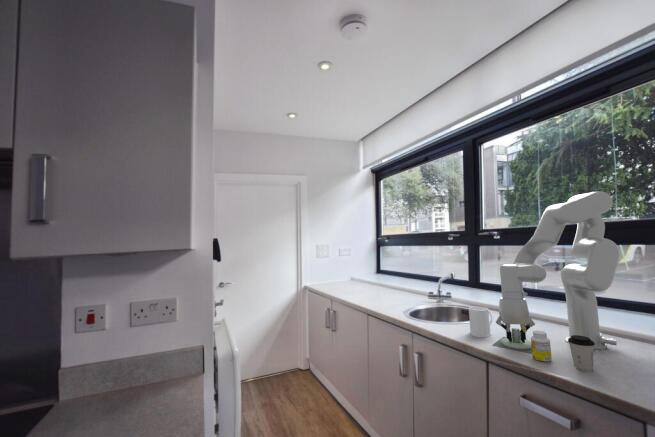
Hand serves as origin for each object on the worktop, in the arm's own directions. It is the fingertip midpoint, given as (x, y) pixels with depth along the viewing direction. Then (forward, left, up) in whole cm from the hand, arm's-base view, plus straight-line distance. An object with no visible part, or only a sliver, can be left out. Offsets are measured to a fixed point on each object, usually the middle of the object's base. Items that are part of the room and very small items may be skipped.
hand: (516, 340), depth 123 cm
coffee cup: (-22, +9, -2) cm, 24 cm away
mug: (+15, -6, -2) cm, 16 cm away
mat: (0, 0, -2) cm, 2 cm away
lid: (0, 0, -1) cm, 1 cm away
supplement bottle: (-11, +11, -2) cm, 16 cm away
